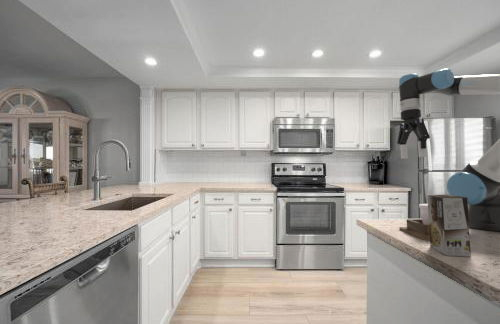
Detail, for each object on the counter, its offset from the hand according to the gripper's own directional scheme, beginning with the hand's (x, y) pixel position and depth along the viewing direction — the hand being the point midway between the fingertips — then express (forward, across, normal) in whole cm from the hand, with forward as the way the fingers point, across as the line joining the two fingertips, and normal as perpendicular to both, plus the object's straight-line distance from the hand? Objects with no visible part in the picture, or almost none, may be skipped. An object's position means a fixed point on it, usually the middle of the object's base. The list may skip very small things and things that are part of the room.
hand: (413, 157), depth 112 cm
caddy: (+29, +19, -6) cm, 35 cm away
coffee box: (+29, +38, -13) cm, 49 cm away
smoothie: (+28, +19, -6) cm, 34 cm away
